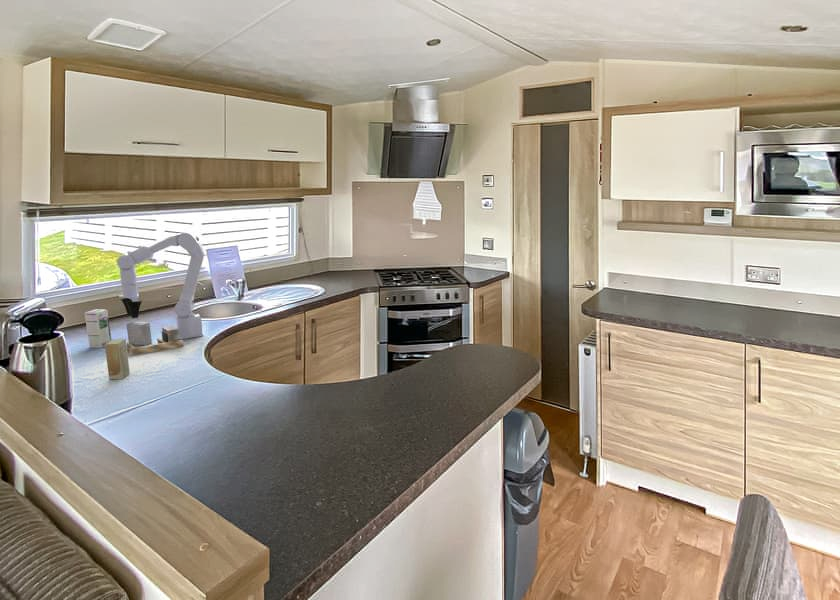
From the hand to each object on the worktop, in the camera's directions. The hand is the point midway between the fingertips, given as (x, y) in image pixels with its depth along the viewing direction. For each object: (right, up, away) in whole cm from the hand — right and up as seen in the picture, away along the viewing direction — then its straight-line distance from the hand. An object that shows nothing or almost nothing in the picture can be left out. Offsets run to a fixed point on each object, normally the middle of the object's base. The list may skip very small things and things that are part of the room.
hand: (132, 316), depth 231 cm
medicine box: (+5, -11, -4) cm, 13 cm away
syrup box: (-9, -12, -7) cm, 16 cm away
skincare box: (+19, -19, -45) cm, 53 cm away
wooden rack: (+14, -12, -11) cm, 22 cm away
